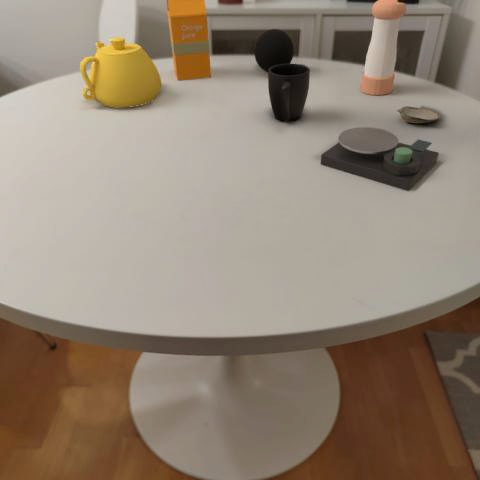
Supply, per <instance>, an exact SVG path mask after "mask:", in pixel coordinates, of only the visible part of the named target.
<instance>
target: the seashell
mask: <svg viewBox="0 0 480 480" xmlns="http://www.w3.org/2000/svg"><path fill="white" fill-rule="evenodd" d="M396 111H397V113H399V114H400V117H401V119H402V120H403V121H405V122H407V123H410V124H425V123H430V122H431V123H432V122H434V121H437V120H439V119H440V116H439V114H438V113H437V112H435V111H432V110H429V109H425V108H422V107H416V106H402V107H400V108H399V109H397V110H396Z"/></svg>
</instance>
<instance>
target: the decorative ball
mask: <svg viewBox="0 0 480 480" xmlns="http://www.w3.org/2000/svg"><path fill="white" fill-rule="evenodd" d="M294 52H295V46H294V43H293V39H292V38H291V37H290V35H289V34H287V32H286V31H283V30H282V29H277V28H273V29H268V30H266V31H264V32H262V33H261V35H260V36H259V37H258V38H257V40H256V42H255V45H254V52H253V53H254V59H255V62H256V64H257V65H258V66H259V68H261V70H263V71H264V72H265V73H268V71H269V68H271V67H272V66H275V65H279V64H292V61H293V58H294Z"/></svg>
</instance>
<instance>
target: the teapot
mask: <svg viewBox="0 0 480 480" xmlns="http://www.w3.org/2000/svg"><path fill="white" fill-rule="evenodd" d="M109 42H110V44H108V45H107V44H106V45H105V42H102V41H98V42H97V41H96V42H94V43H95V48H96V52H95V54H94V56H93V55H89V56H86V57H84V58H83V59H82V60H81V61H80V64H79V71H80V74H81V78H82V79H83V81H84V83H85V85H86V87H84V88H83V89H82V96H83V98H84V99H85V100H86V101H94V100H96V101H97V102H99V103H100V104H101V105H102V104H103V105H102V106H104V105H106V106H105V107H107V106H111V107H130V106H136V105H141V104H144V105H146V104H145V103H147V104H149V103H151V102H153V101H155V100H156V98H157V97H158V95H159V94H160V92H161V90H162V87H163V84H162V79H161V76H160V73H159V70H158V68H157V67H156V64H155V63H154V61H153V60H152V58H151V57H150V56H149V55H148V52H147V51H145V50H144V49H143V47H142V46H141V45H140V44H137V43H131V42H127V43H126V38H125V37H122V36H117V37H116V36H115V37H112V38H109ZM89 64H91V66H90V70H89V76H88V72H87V66H88V65H89ZM88 91H89V94H88ZM152 100H153V101H152ZM148 102H149V103H148ZM141 106H142V105H141ZM111 107H110V108H111Z"/></svg>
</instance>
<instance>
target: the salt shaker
mask: <svg viewBox="0 0 480 480" xmlns="http://www.w3.org/2000/svg"><path fill="white" fill-rule="evenodd" d="M406 12H407V6H406V3H399V2H398V1H397V0H376V1H375V2H374V3H373V5H372V8H371V14H372V17H374V19H373V25H372V32H371V38H370V42H369V45H368V49H367V52H366V56H365V64H364V71H363V72H362V73H361V81H360V89H359V90H360V92H361V93H364V94H367V95H370V96H384V95H388V94H391V93H392V92H393V87H394V82H395V77H396V75H395V67H396V63H397V52H398V51H397V49H398V36H399V30H400V26H401V25H400V24H401V18H402V17H404V16H405V15H406Z"/></svg>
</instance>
